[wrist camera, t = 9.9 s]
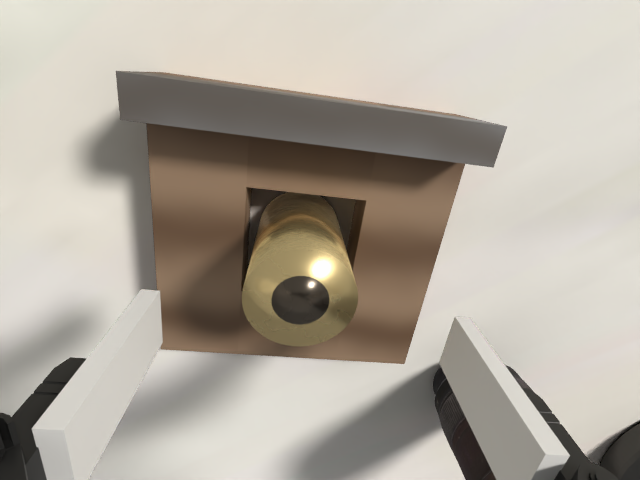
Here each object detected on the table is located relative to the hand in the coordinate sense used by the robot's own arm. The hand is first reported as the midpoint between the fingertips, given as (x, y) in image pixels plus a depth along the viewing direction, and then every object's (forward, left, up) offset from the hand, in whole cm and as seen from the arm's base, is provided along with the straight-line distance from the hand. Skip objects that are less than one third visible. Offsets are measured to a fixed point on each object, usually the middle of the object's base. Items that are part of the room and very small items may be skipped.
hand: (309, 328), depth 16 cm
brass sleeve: (0, 0, -11) cm, 11 cm away
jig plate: (0, 0, -11) cm, 11 cm away
